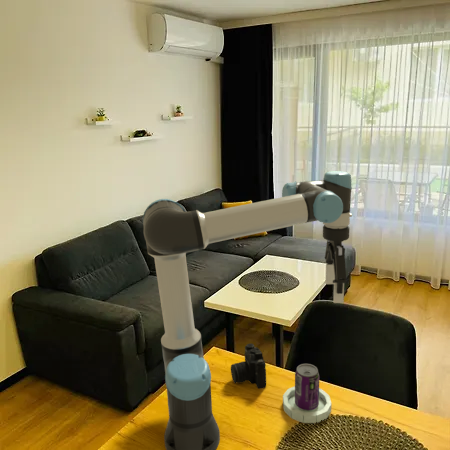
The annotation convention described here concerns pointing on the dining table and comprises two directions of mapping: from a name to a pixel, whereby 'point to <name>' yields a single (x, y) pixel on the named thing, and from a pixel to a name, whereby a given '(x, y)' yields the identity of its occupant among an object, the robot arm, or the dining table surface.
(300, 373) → the beverage can
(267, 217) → the robot arm
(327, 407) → the tray
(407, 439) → the dining table surface
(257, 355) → the camera
